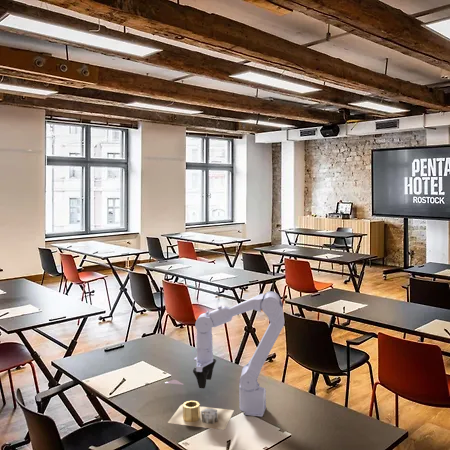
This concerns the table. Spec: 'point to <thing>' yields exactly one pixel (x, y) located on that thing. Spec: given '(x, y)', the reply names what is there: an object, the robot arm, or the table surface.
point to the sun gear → (209, 416)
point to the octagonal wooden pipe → (191, 411)
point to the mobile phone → (174, 382)
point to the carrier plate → (221, 424)
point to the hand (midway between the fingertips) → (205, 383)
